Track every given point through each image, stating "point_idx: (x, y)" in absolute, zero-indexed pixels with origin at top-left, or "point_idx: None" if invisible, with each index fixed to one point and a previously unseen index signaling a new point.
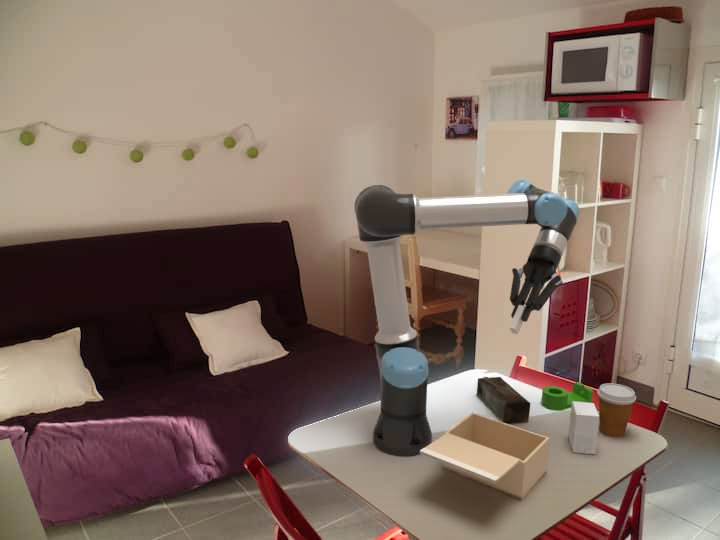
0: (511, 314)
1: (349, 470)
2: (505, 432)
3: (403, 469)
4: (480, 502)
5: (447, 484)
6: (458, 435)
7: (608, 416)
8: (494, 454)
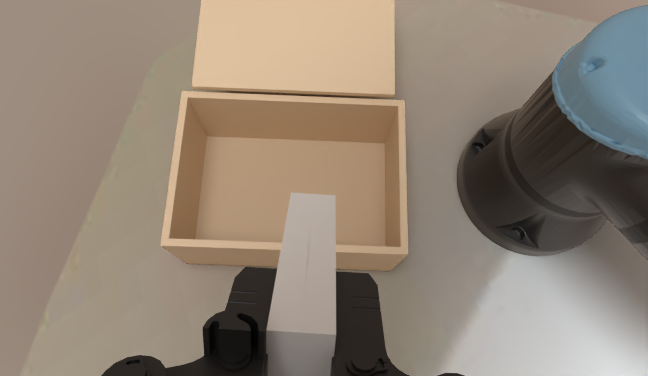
0: (374, 283)
1: (527, 30)
2: None
3: (449, 90)
4: None
5: (349, 96)
6: (393, 174)
7: None
8: (251, 68)
